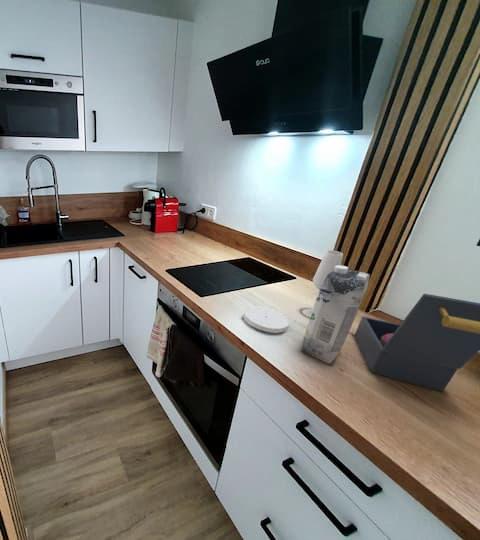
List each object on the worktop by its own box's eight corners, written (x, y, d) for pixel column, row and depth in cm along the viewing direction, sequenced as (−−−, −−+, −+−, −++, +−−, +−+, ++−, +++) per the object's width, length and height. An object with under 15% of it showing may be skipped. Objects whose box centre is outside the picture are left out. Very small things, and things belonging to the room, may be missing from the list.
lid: (423, 293, 63) (433, 312, 58) (519, 310, 57) (537, 332, 53) (382, 348, 75) (387, 367, 70) (457, 366, 69) (468, 388, 65)
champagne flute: (326, 320, 101) (350, 257, 91) (305, 317, 102) (327, 254, 92) (319, 310, 107) (341, 250, 97) (299, 308, 108) (319, 248, 98)
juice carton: (341, 351, 85) (376, 268, 74) (332, 368, 78) (369, 280, 68) (307, 337, 91) (335, 259, 80) (297, 352, 84) (325, 268, 73)
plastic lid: (234, 314, 102) (235, 308, 101) (266, 310, 106) (268, 304, 105) (261, 338, 90) (263, 331, 89) (297, 332, 94) (299, 325, 93)
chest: (354, 335, 93) (362, 316, 90) (412, 348, 87) (422, 329, 84) (371, 372, 77) (381, 350, 75) (442, 391, 72) (457, 369, 69)
